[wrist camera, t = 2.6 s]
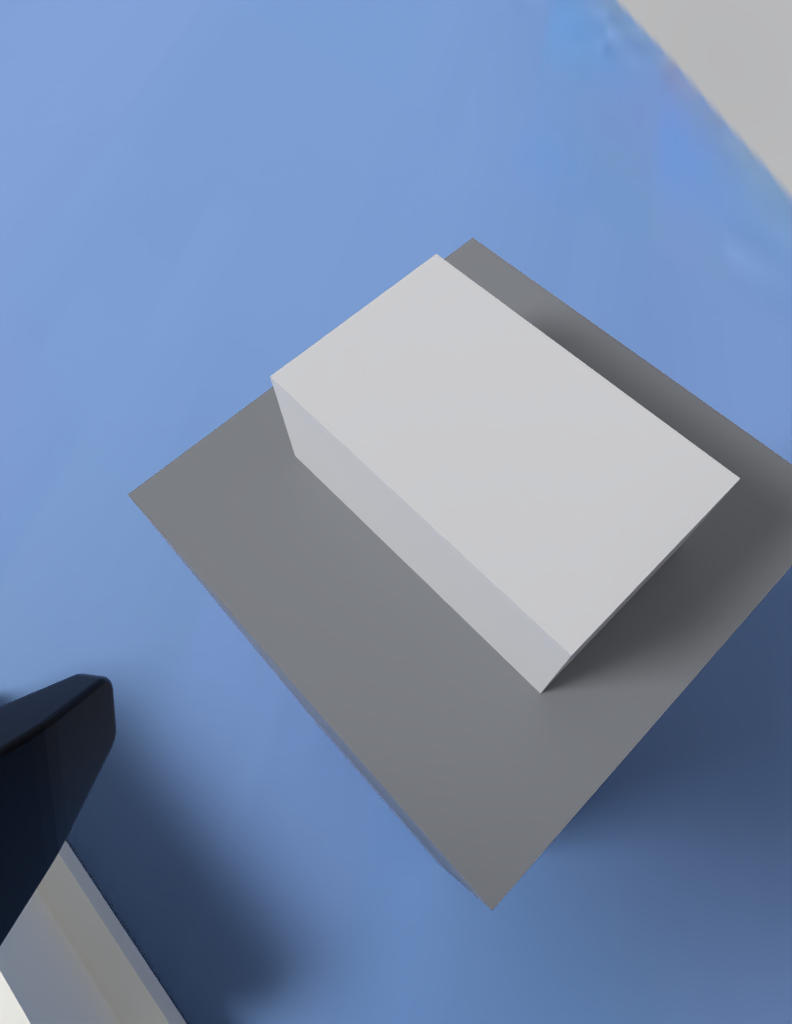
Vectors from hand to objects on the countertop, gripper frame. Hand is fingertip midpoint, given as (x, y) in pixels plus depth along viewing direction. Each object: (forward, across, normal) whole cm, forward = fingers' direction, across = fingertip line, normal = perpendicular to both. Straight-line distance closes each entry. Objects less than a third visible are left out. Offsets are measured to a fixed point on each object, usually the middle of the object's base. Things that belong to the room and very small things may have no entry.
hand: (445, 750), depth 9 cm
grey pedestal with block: (+8, 0, +5) cm, 9 cm away
